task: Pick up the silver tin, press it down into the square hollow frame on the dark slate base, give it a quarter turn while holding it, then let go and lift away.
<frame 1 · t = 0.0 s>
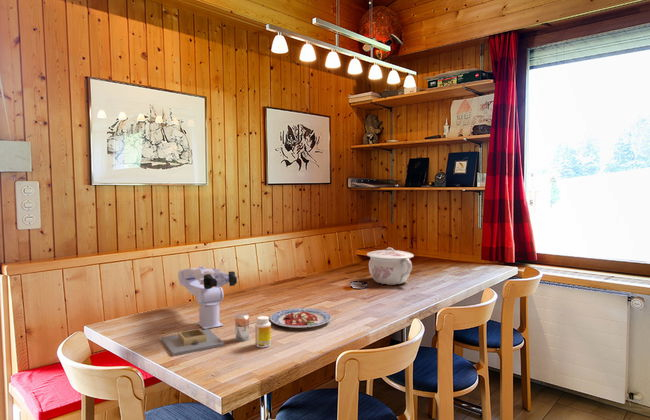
hand: (226, 282, 166), 22 cm above the table, tool horizontal, fingers open, 7 cm apart
square hollow frame: (192, 336, 164), on the socket base, point 2 cm above the table
ceramic plate: (300, 322, 189), on the table
socket base: (192, 342, 164), on the table
silver tin: (242, 339, 168), on the table
chamber pot: (389, 283, 261), on the table
supplement bottle: (263, 345, 162), on the table
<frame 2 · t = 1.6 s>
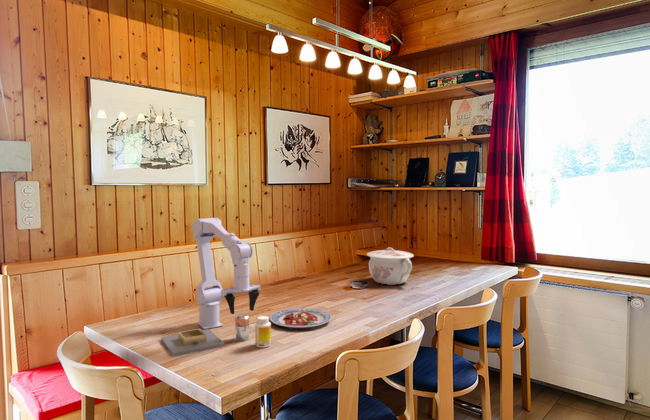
hand: (242, 311, 167), 10 cm above the table, tool pointing down, fingers open, 7 cm apart
nothing on the table moved.
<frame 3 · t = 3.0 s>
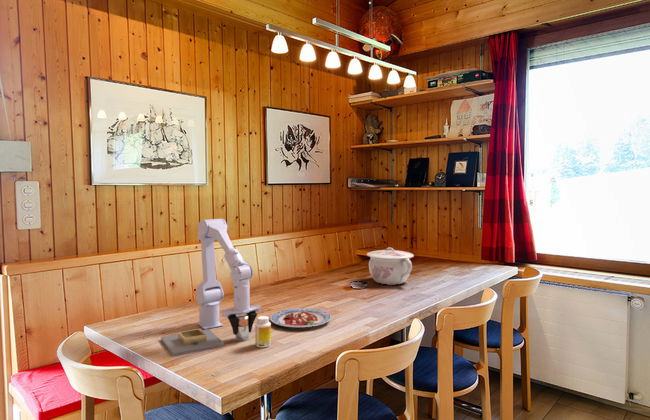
hand: (242, 332, 168), 2 cm above the table, tool pointing down, fingers closed on silver tin, 5 cm apart
silver tin: (242, 339, 168), on the table, touching gripper
everything else where it was.
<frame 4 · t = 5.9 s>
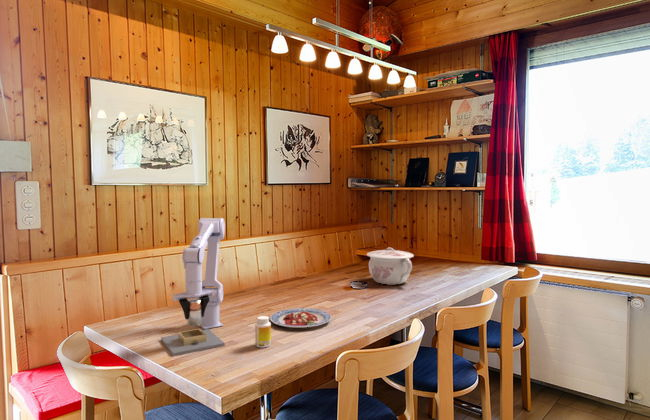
hand: (194, 317, 163), 9 cm above the table, tool pointing down, fingers closed on silver tin, 5 cm apart
silver tin: (194, 324, 164), point 7 cm above the table, touching gripper
everything else where it was.
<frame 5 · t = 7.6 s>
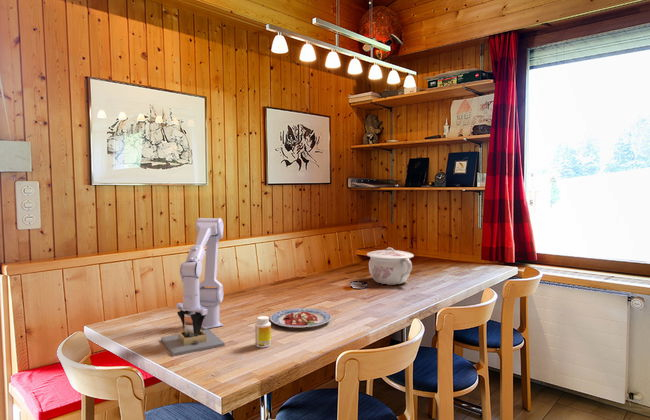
hand: (192, 331, 164), 4 cm above the table, tool pointing down, fingers closed on silver tin, 5 cm apart
silver tin: (191, 337, 164), point 2 cm above the table, touching gripper
everything else where it was.
when the fingers open (4 cm above the table, at t = 9.0 s): silver tin stays where it is, resting on socket base.
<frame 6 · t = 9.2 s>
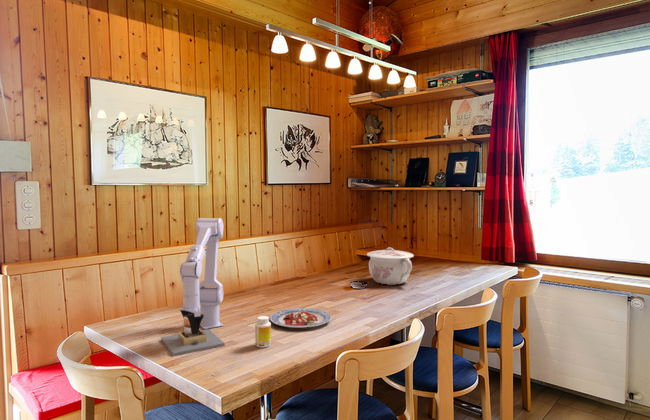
hand: (192, 331, 164), 4 cm above the table, tool pointing down, fingers open, 7 cm apart
silver tin: (191, 340, 164), point 1 cm above the table, touching socket base
everything else where it was.
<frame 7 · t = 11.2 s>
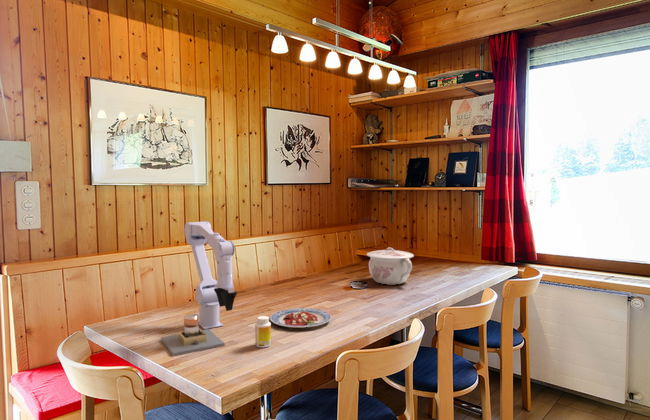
hand: (225, 308, 172), 10 cm above the table, tool pointing down, fingers open, 7 cm apart
nothing on the table moved.
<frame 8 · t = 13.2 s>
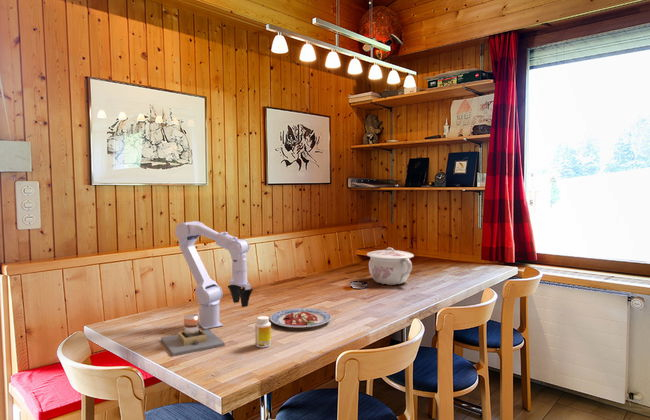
hand: (240, 304, 177), 10 cm above the table, tool pointing down, fingers open, 7 cm apart
nothing on the table moved.
at the end: silver tin 0.2 cm off-centre on the socket base, point 1.0 cm above the socket base's base; silver tin tilted 0°; the gripper is holding nothing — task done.
